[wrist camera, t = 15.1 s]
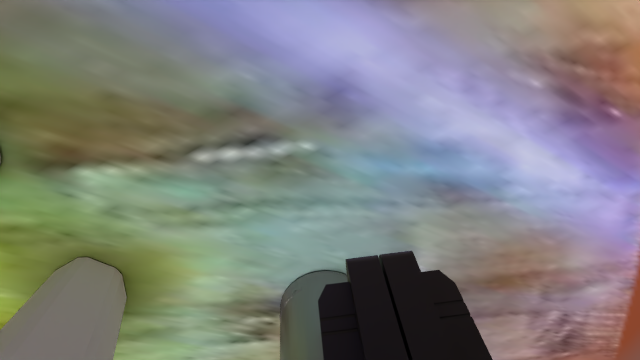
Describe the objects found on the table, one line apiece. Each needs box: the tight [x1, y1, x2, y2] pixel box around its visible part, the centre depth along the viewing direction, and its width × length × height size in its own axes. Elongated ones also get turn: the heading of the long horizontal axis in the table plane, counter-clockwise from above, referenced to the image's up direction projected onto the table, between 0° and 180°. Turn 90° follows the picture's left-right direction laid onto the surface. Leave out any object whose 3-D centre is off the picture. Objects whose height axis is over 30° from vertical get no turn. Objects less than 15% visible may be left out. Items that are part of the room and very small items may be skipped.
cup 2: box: [0, 257, 127, 360], centre depth 45 cm, size 11×10×17 cm
